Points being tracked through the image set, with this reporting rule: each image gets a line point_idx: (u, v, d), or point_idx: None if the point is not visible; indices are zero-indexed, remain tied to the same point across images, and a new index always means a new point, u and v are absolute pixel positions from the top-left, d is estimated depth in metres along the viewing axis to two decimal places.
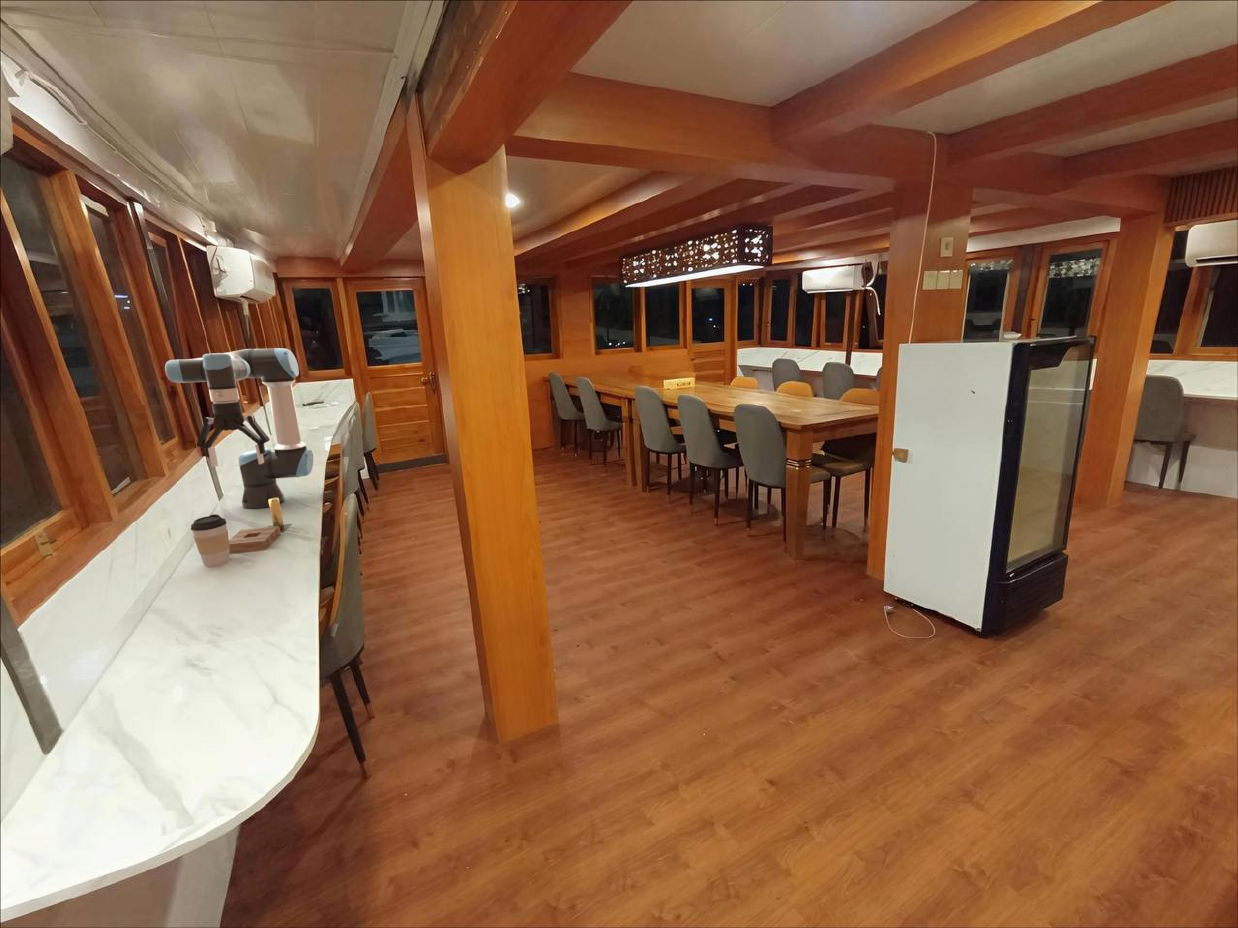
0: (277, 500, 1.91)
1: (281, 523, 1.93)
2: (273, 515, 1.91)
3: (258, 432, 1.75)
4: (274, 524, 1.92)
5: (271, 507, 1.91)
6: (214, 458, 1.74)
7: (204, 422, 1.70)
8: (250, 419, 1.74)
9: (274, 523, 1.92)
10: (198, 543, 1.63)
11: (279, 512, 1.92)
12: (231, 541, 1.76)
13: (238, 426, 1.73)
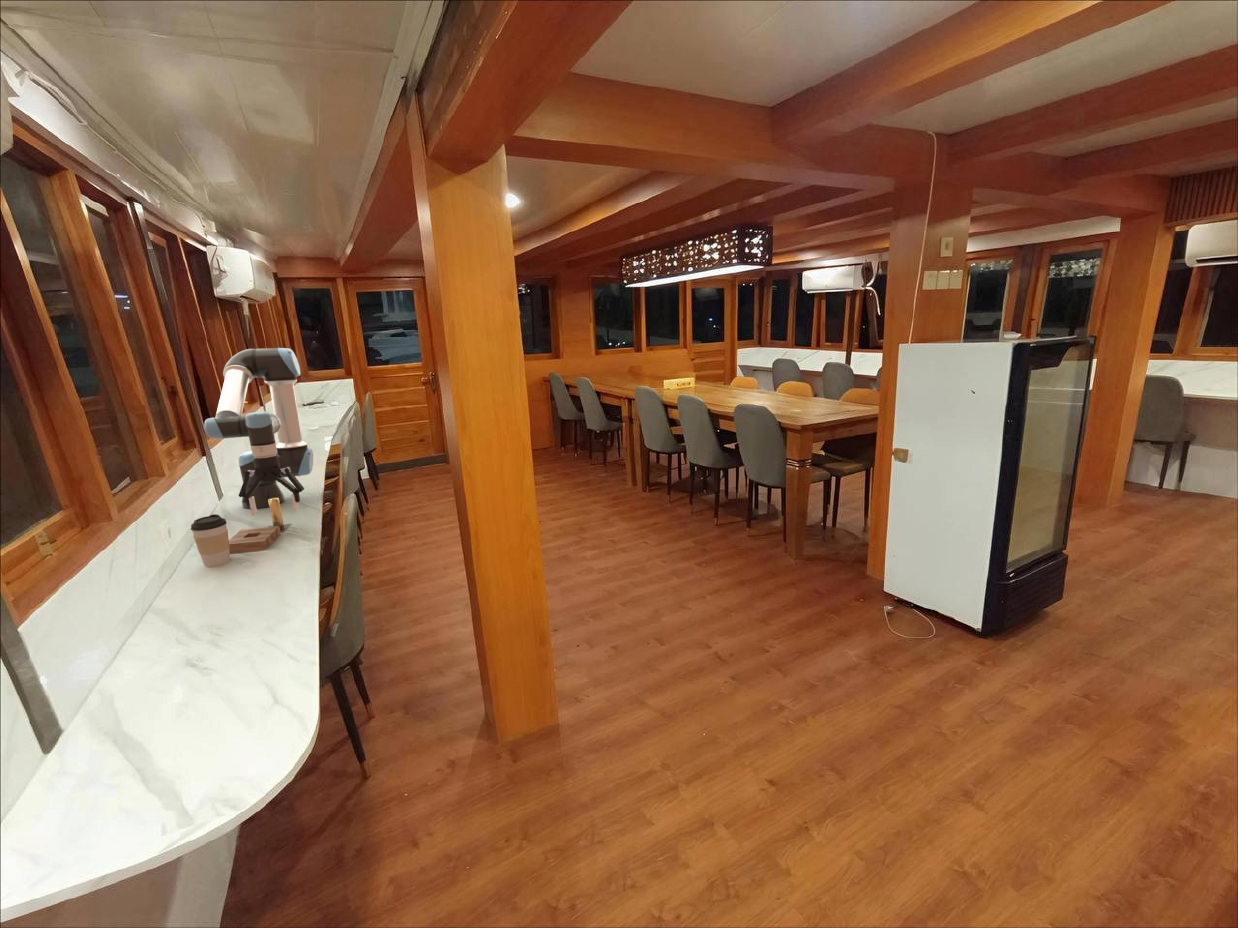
0: (277, 500, 1.91)
1: (281, 523, 1.93)
2: (273, 515, 1.91)
3: (294, 483, 1.91)
4: (274, 524, 1.92)
5: (271, 507, 1.91)
6: (254, 507, 1.90)
7: (246, 475, 1.86)
8: (287, 471, 1.89)
9: (274, 523, 1.92)
10: (198, 543, 1.63)
11: (279, 512, 1.92)
12: (231, 541, 1.76)
13: (276, 478, 1.88)
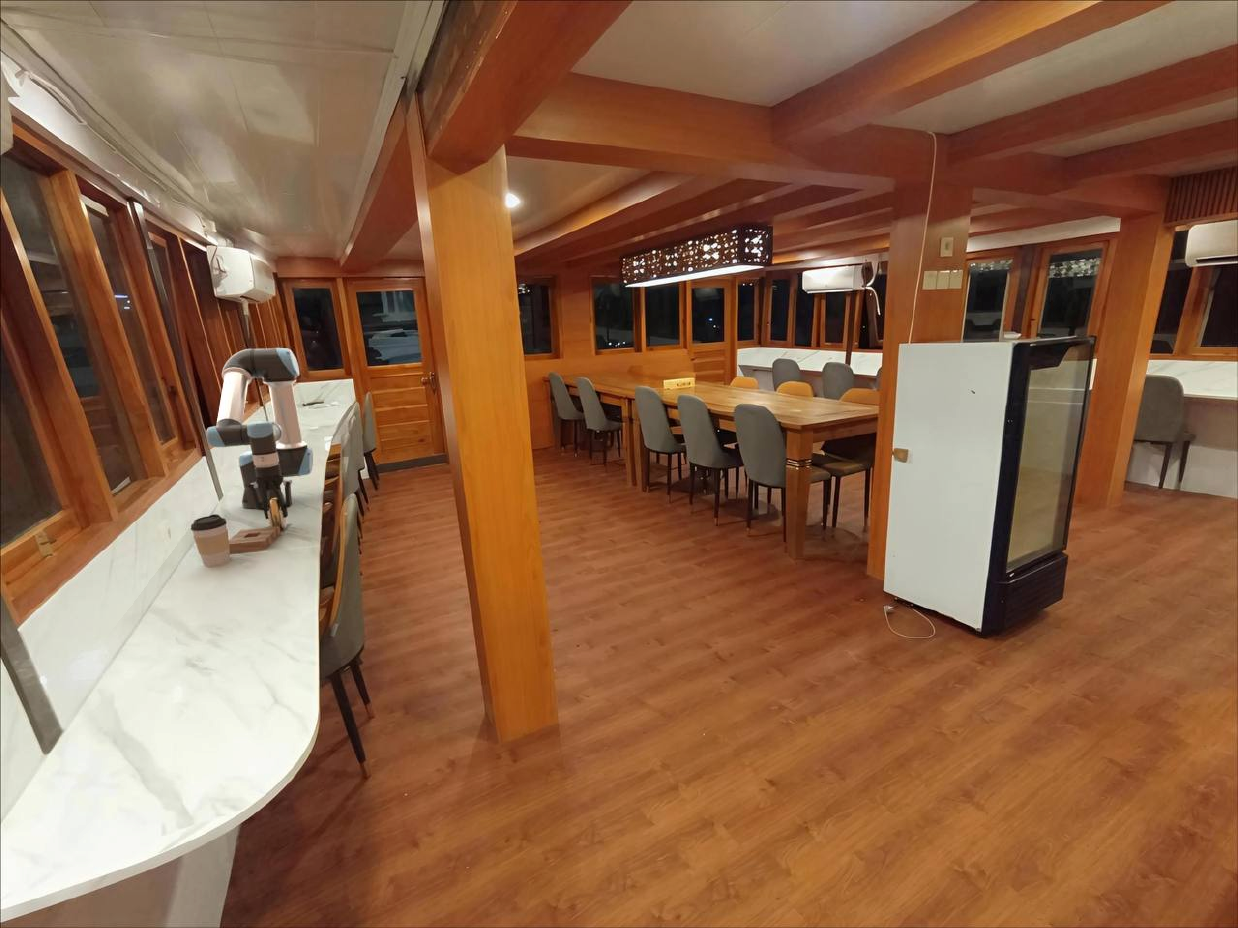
0: (277, 500, 1.91)
1: (281, 523, 1.93)
2: (273, 515, 1.91)
3: (287, 497, 1.91)
4: (274, 524, 1.92)
5: (271, 507, 1.91)
6: None
7: (251, 488, 1.88)
8: (288, 485, 1.90)
9: (274, 523, 1.92)
10: (198, 543, 1.63)
11: None
12: (231, 541, 1.76)
13: (275, 488, 1.89)
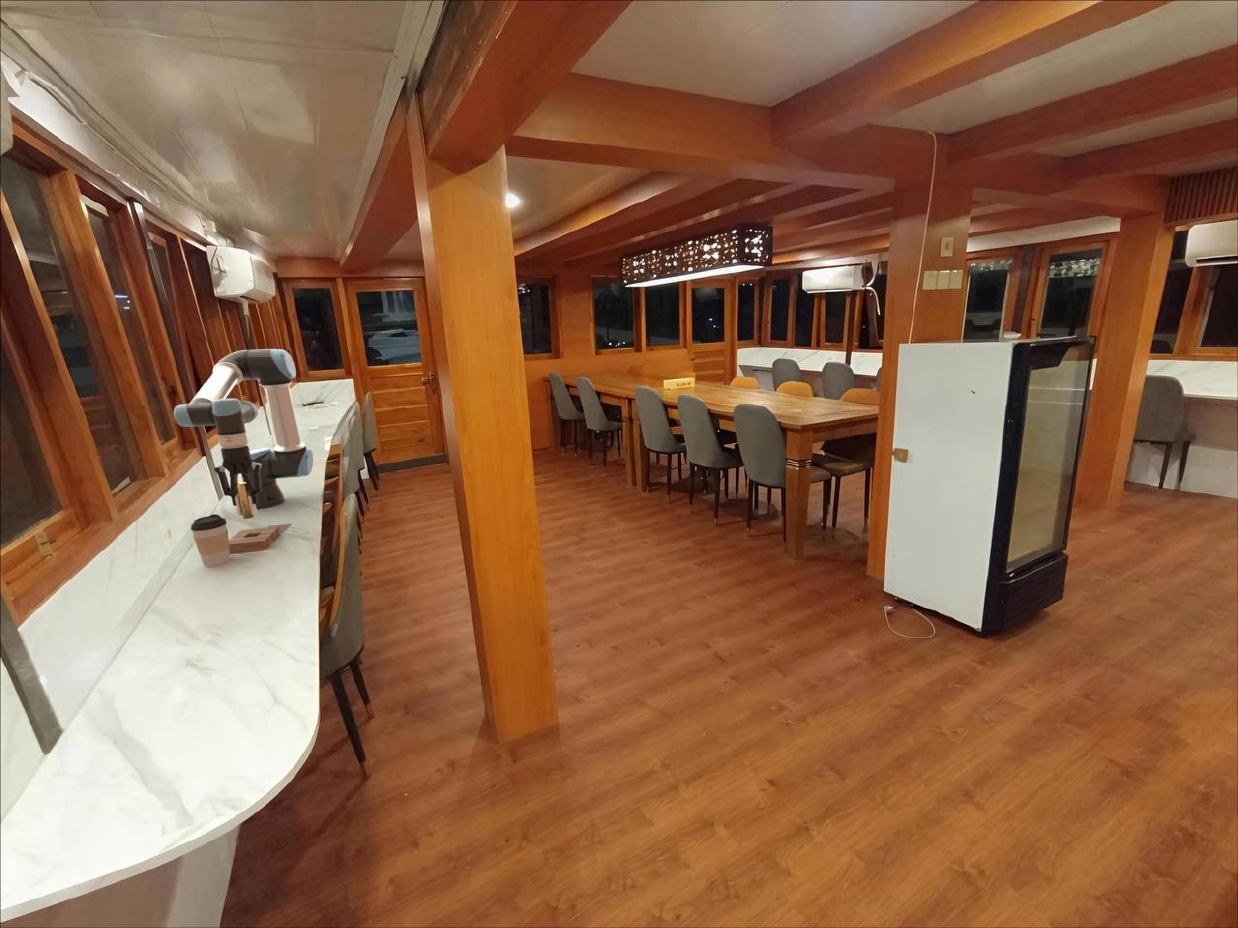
0: (246, 485, 1.76)
1: (250, 510, 1.78)
2: (241, 501, 1.76)
3: (256, 481, 1.77)
4: (242, 511, 1.77)
5: (239, 492, 1.76)
6: (240, 507, 1.78)
7: (217, 471, 1.73)
8: (257, 468, 1.76)
9: (242, 510, 1.77)
10: (198, 543, 1.63)
11: None
12: (231, 541, 1.76)
13: (243, 472, 1.74)
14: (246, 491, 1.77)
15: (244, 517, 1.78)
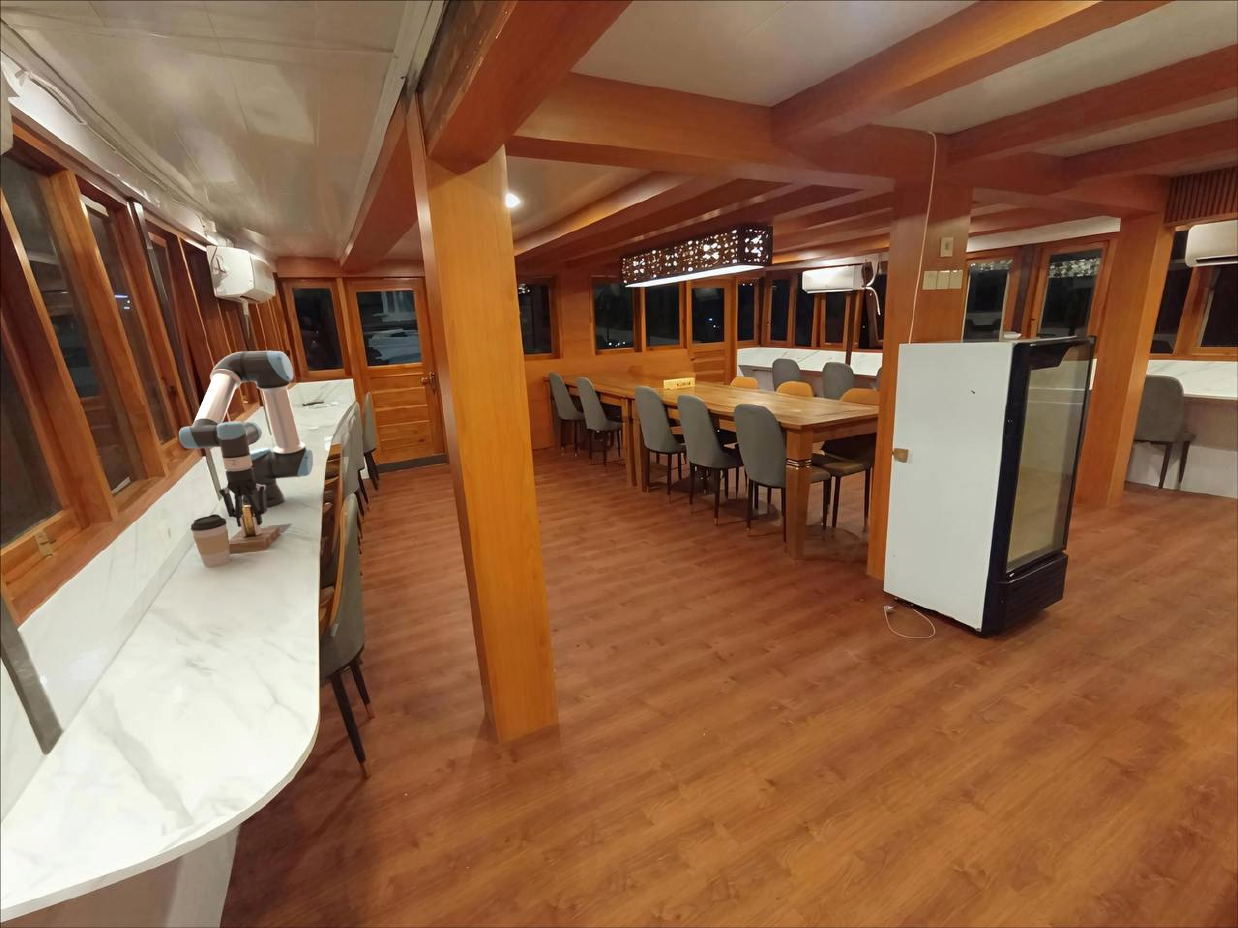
0: (250, 508, 1.79)
1: None
2: (246, 524, 1.79)
3: (261, 503, 1.79)
4: (247, 533, 1.80)
5: (244, 515, 1.78)
6: None
7: (222, 493, 1.75)
8: (261, 490, 1.78)
9: (247, 532, 1.79)
10: (198, 543, 1.63)
11: None
12: (231, 541, 1.76)
13: (248, 494, 1.76)
14: (251, 514, 1.79)
15: None
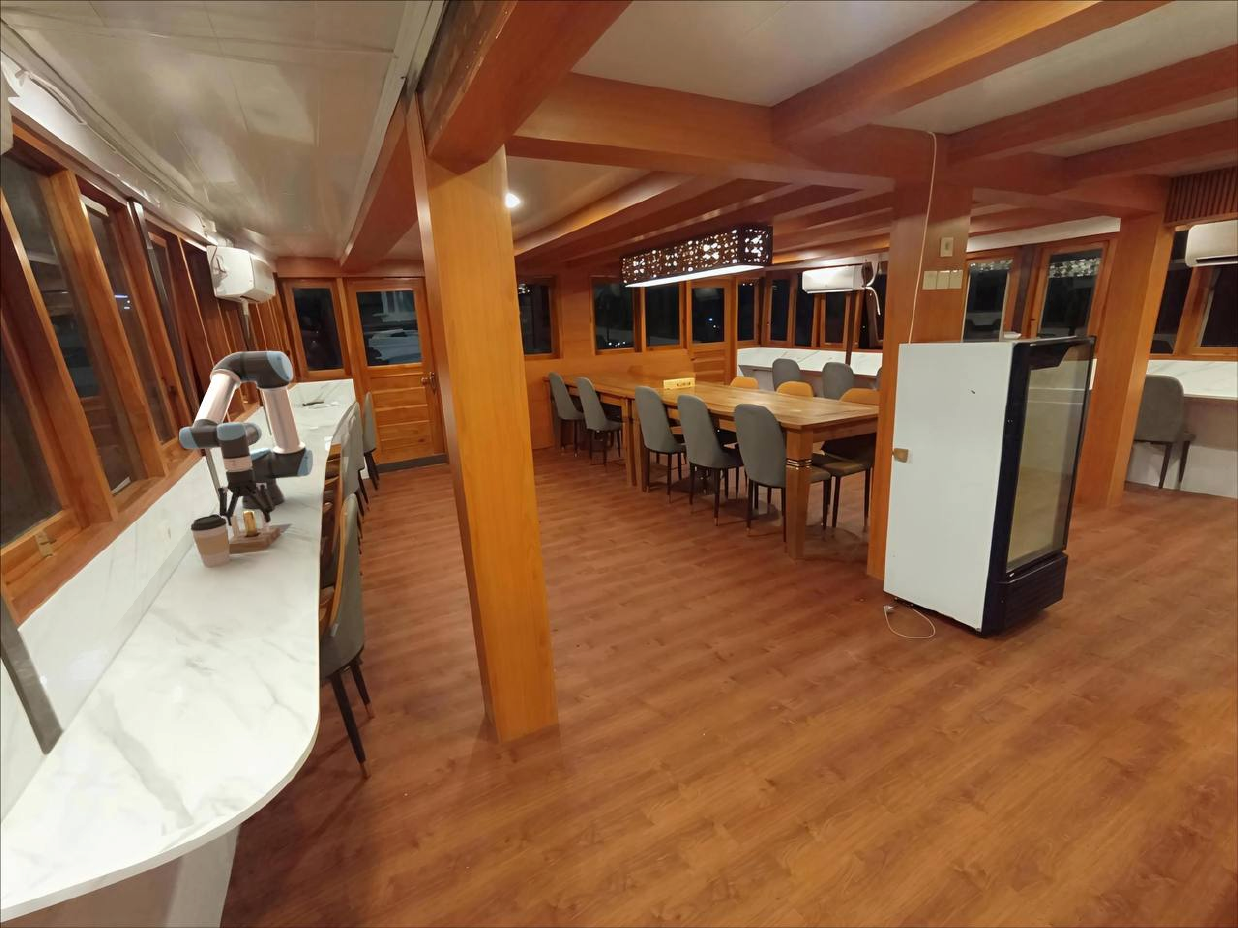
0: (252, 513, 1.79)
1: None
2: (247, 529, 1.79)
3: (266, 501, 1.79)
4: None
5: (245, 521, 1.78)
6: (236, 527, 1.79)
7: (219, 492, 1.75)
8: (263, 488, 1.78)
9: None
10: (198, 543, 1.63)
11: (254, 526, 1.80)
12: (231, 541, 1.76)
13: (250, 493, 1.77)
14: (252, 519, 1.79)
15: None
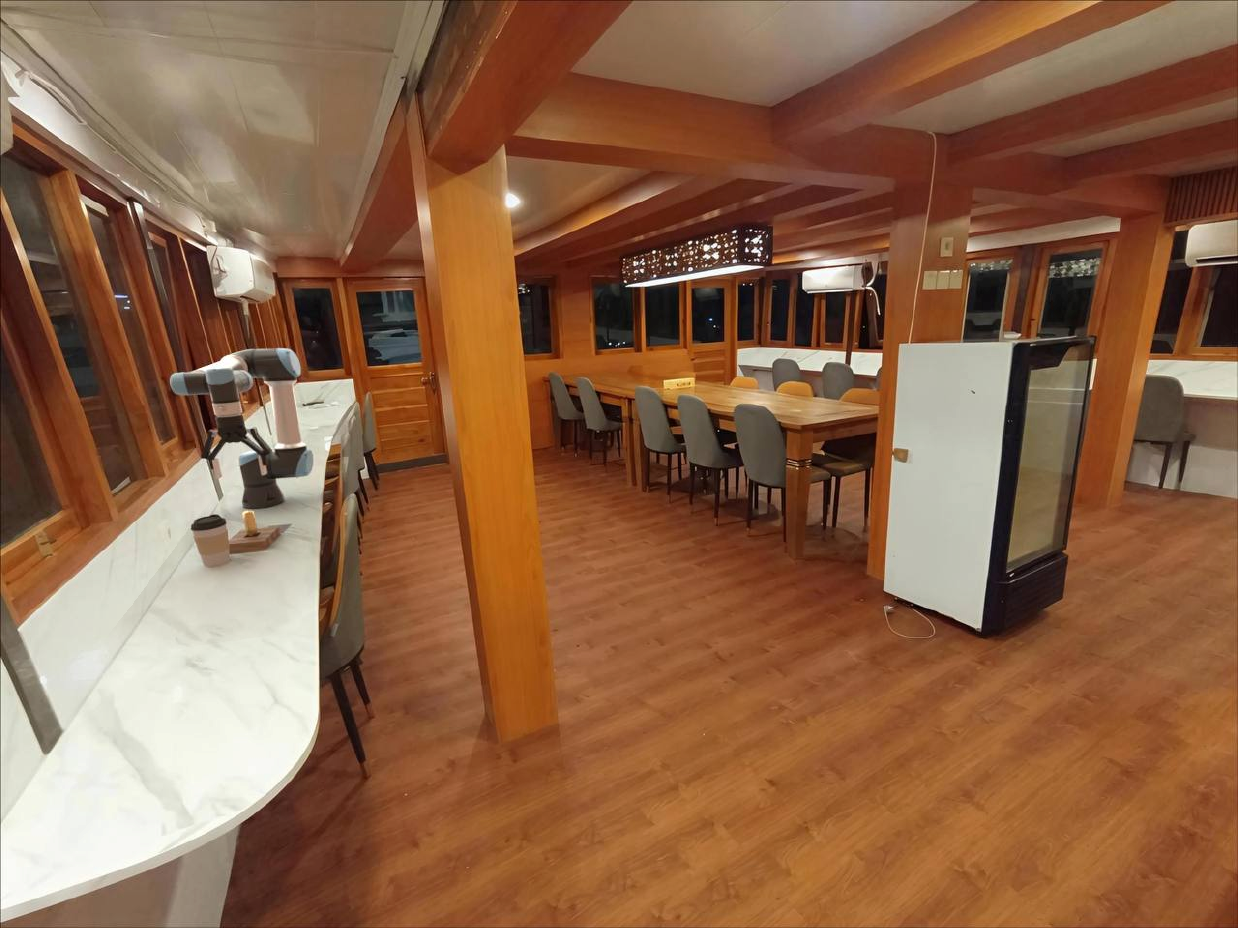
0: (252, 513, 1.79)
1: None
2: (247, 529, 1.79)
3: (261, 444, 1.79)
4: None
5: (245, 521, 1.78)
6: (218, 470, 1.78)
7: (208, 435, 1.74)
8: (253, 432, 1.77)
9: None
10: (198, 543, 1.63)
11: (254, 526, 1.80)
12: (231, 541, 1.76)
13: (241, 439, 1.77)
14: (252, 519, 1.79)
15: None
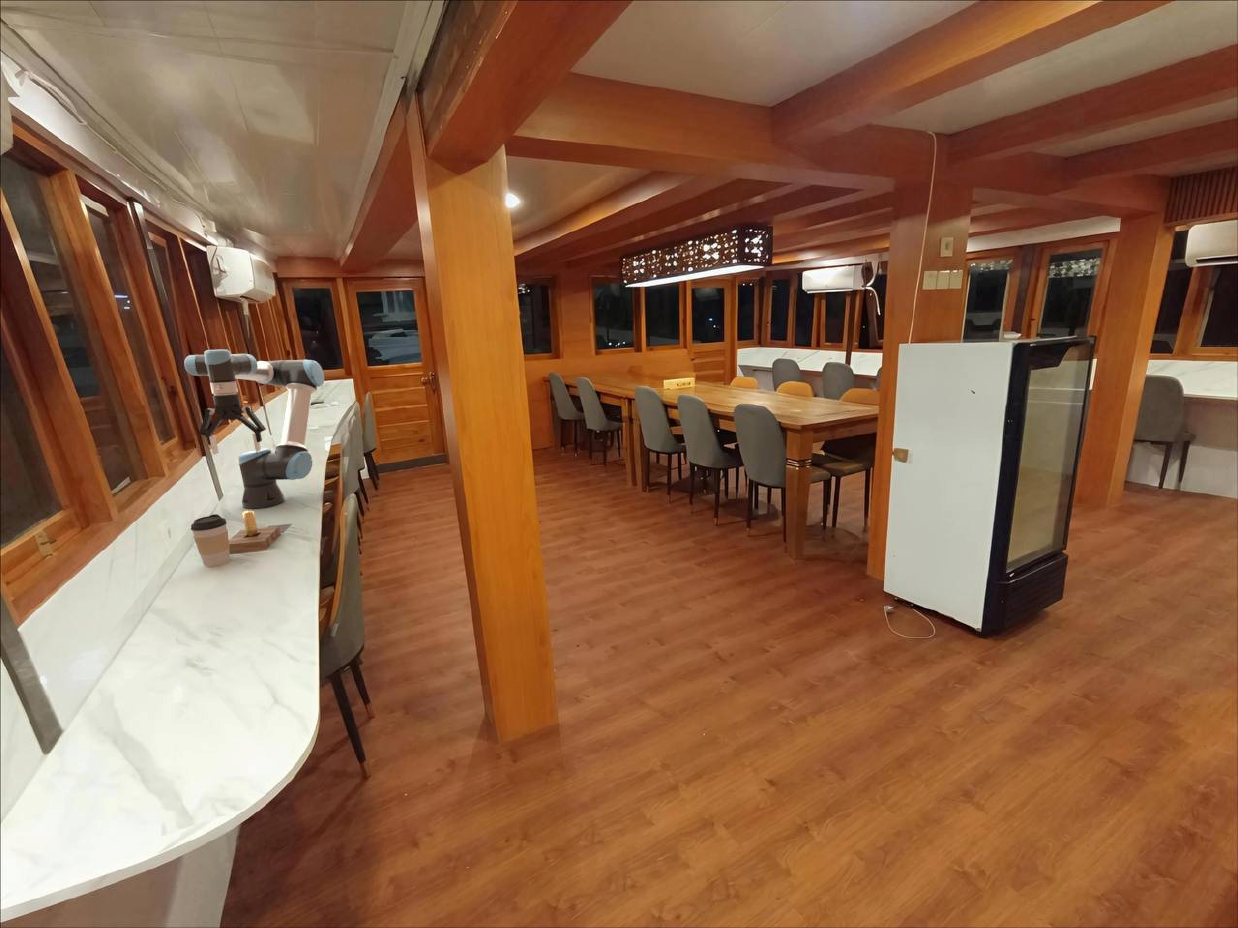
0: (252, 513, 1.79)
1: None
2: (247, 529, 1.79)
3: (255, 422, 1.91)
4: None
5: (245, 521, 1.78)
6: (215, 446, 1.90)
7: (206, 412, 1.86)
8: (248, 410, 1.90)
9: None
10: (198, 543, 1.63)
11: (254, 526, 1.80)
12: (231, 541, 1.76)
13: (237, 416, 1.89)
14: (252, 519, 1.79)
15: None
